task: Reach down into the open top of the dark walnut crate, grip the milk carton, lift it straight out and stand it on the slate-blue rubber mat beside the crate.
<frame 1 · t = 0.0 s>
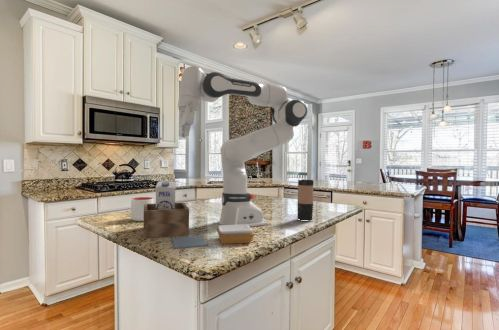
hand: (184, 136, 121), 39 cm above the countertop, tool pointing down, fingers open, 8 cm apart
crate: (165, 231, 114), on the countertop
travel mug: (304, 220, 140), on the countertop
milk carton: (165, 231, 114), resting in crate
cup: (142, 219, 134), on the countertop
mat: (189, 242, 99), on the countertop
soap dish: (234, 241, 103), on the countertop
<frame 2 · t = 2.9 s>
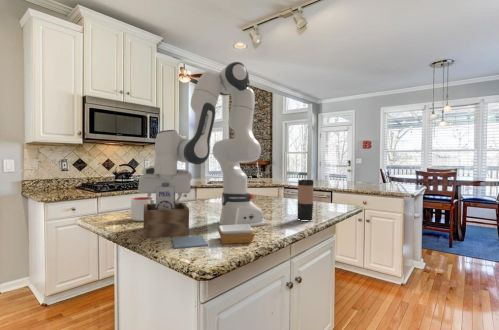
hand: (164, 204, 113), 11 cm above the countertop, tool pointing down, fingers open, 8 cm apart
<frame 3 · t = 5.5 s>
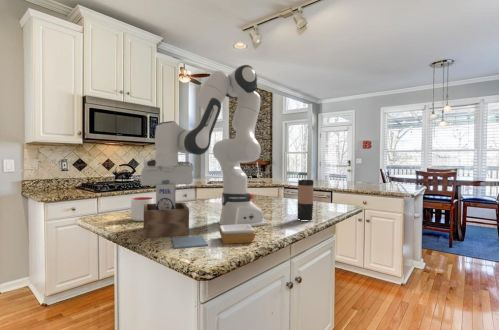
hand: (167, 196, 114), 14 cm above the countertop, tool pointing down, fingers closed, pressing on milk carton
milk carton: (166, 229, 113), point 1 cm above the countertop, touching gripper
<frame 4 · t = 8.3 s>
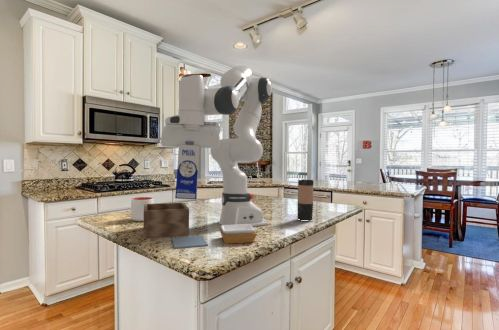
hand: (190, 160, 99), 29 cm above the countertop, tool pointing down, fingers closed on milk carton
milk carton: (186, 198, 97), point 16 cm above the countertop, touching gripper
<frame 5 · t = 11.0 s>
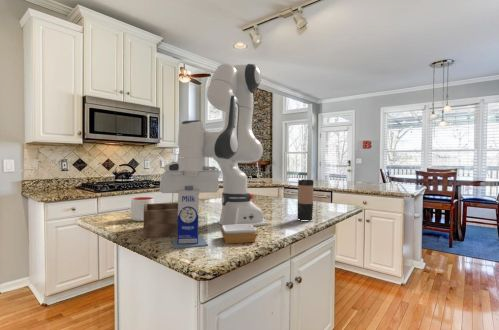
hand: (189, 205, 99), 13 cm above the countertop, tool pointing down, fingers closed
milk carton: (188, 241, 99), resting on mat
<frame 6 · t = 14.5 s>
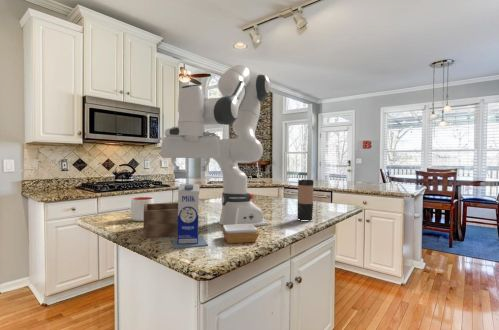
hand: (190, 171, 99), 25 cm above the countertop, tool pointing down, fingers open, 8 cm apart
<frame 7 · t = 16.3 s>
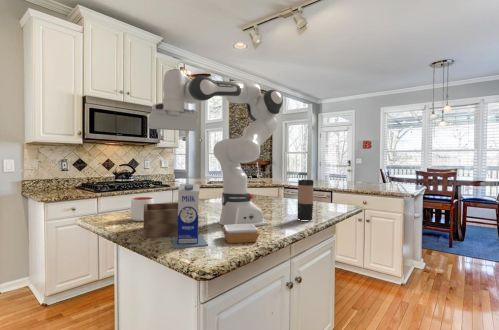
hand: (173, 140, 120), 37 cm above the countertop, tool pointing down, fingers open, 8 cm apart
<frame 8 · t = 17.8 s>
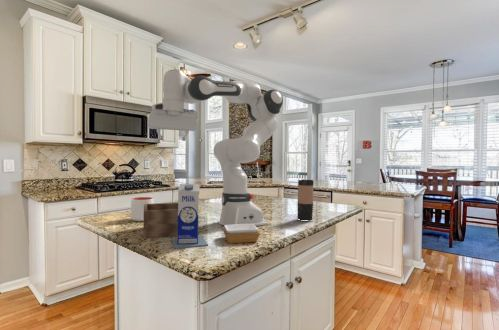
hand: (172, 140, 121), 37 cm above the countertop, tool pointing down, fingers open, 8 cm apart
at the end: milk carton inside the target area on the mat (0.4 cm from its centre), point 0.3 cm above the mat's base; milk carton tilted 0°; the gripper is holding nothing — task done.
